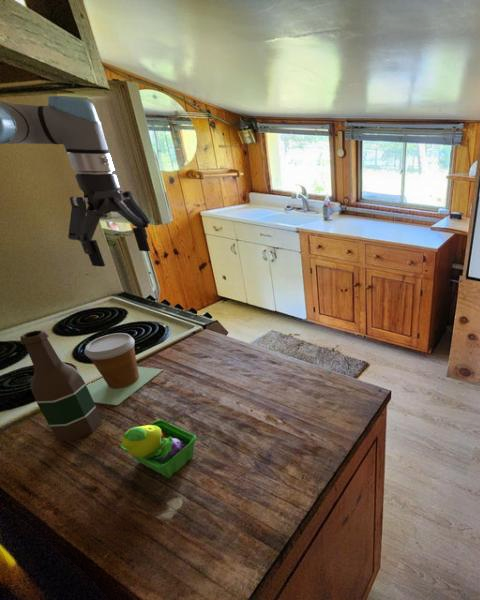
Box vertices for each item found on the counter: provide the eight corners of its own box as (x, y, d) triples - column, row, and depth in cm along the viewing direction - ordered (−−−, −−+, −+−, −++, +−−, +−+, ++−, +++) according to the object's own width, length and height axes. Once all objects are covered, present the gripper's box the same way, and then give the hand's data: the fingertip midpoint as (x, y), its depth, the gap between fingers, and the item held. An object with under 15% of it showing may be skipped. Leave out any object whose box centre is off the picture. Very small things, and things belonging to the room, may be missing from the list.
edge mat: (65, 398, 78) (64, 398, 78) (117, 364, 91) (117, 364, 91) (117, 405, 77) (117, 405, 77) (163, 370, 90) (163, 369, 90)
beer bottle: (112, 420, 73) (71, 327, 63) (72, 447, 66) (19, 348, 56) (86, 412, 75) (43, 320, 65) (45, 437, 68) (-11, 340, 58)
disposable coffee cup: (91, 395, 80) (72, 354, 75) (114, 371, 88) (98, 333, 83) (135, 391, 81) (119, 351, 76) (153, 368, 90) (140, 330, 85)
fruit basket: (203, 454, 66) (191, 412, 61) (160, 492, 59) (142, 448, 54) (165, 436, 70) (150, 395, 65) (119, 469, 62) (99, 426, 57)
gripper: (52, 177, 66) (89, 274, 75) (152, 170, 89) (171, 246, 97) (20, 175, 67) (61, 272, 76) (127, 169, 89) (149, 244, 98)
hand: (123, 257), depth 87 cm, fingers open, 13 cm apart
